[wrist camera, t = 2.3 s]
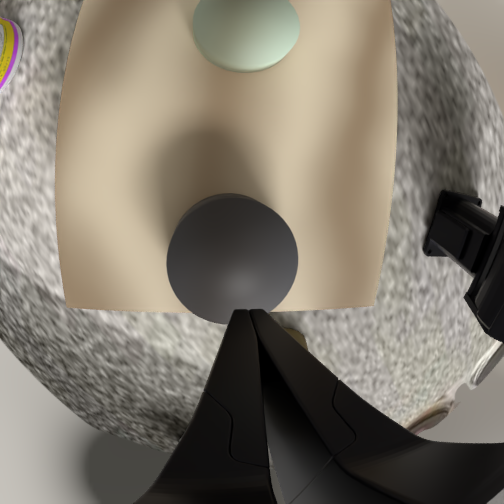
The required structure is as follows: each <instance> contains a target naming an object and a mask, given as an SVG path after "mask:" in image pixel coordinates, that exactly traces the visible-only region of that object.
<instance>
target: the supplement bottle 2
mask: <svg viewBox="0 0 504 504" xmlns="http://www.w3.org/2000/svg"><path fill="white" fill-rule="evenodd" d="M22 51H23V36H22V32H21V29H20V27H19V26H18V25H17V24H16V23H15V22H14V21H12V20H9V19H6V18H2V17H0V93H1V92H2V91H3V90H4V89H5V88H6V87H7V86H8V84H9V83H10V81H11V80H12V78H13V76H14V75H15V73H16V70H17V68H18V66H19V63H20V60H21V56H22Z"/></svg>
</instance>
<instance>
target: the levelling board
mask: <svg viewBox="0 0 504 504" xmlns="http://www.w3.org/2000/svg"><path fill="white" fill-rule="evenodd" d="M396 141H397V64H396V48H395V35H394V25H393V16H392V8H391V1H390V0H83V3H82V6H81V10H80V13H79V16H78V20H77V23H76V27H75V30H74V34H73V38H72V42H71V46H70V50H69V55H68V60H67V65H66V70H65V75H64V81H63V87H62V93H61V101H60V108H59V117H58V128H57V140H56V159H55V207H56V227H57V240H58V251H59V260H60V268H61V275H62V282H63V289H64V295H65V300H66V306H67V308H80V309H96V310H114V311H136V312H172V313H193V314H195V315H197V316H198V317H200V318H202V319H205V320H207V321H210V322H214V323H219V324H229V321H230V318H231V315H232V313H233V311H234V310H235V309H247V310H248V311H249V310H250V309H263V310H265V311H266V312H267V313H269V312H282V311H305V310H324V309H340V308H354V307H367V306H374V302H375V297H376V293H377V288H378V283H379V278H380V273H381V268H382V263H383V257H384V251H385V245H386V239H387V232H388V226H389V218H390V211H391V202H392V193H393V183H394V172H395V159H396Z"/></svg>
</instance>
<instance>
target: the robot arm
mask: <svg viewBox="0 0 504 504" xmlns="http://www.w3.org/2000/svg"><path fill="white" fill-rule="evenodd" d="M445 195H446V196H445ZM481 204H482V200H481V199H480V198H478V197H475V196H471V195H467V194H463V193H459V192H455V191H450V190H446V189H444V190H442V192H441V194H440V198H439V201H438V205H437V209H436V212H435V216H434V219H433V222H432V226H431V229H430V232H429V235H428V238H427V242H426V245H425V248H424V251H423V252H424V254H425V255H426V256H441V257H449V258H451V259H452V260H453V261H454V262H456V263H457V264H458V265H459V266H460V267H461V268H463V269H464V270H465V271H466V272H467V273H468V274H470V275H471V276H472V277H473V278H474V279H473V281H472V283H471V285H470V288H469V290H468V292H466V294H465V296H464V299H465V301H466V302H467V304H468V306H469V307H470V309H471V310H472V312H473V314H474V315H475V317H476V318H477V320H478V322H479V323H480V325H481V327H482V328H483V330H484V332H485V333H486V334H488V335H489V336H490V337H493V338H494V339H496V340H498V341H500V342H503V343H504V206H502V205H501V207H500V210H499V211H500V213H499V216H498V217H496V216H494V215H493V214H491V213H489V212H488V211H486V210H484V209H482V208H481ZM267 443H268V445H267ZM268 446H269V450H270V453H271V457H272V460H273V464H274V467H275V471H276V474H277V477H278V481H279V483H280V487H281V491H282V494H283V497H284V501H285V504H504V443H450V442H437V441H430V440H427V439H424V438H421V437H419V436H417V435H415V434H413V433H412V432H410V431H408V430H407V429H405V428H404V427H402V426H401V425H399V424H398V423H396V422H395V421H393V420H392V419H390V418H389V417H387V416H386V415H384V414H383V413H381V412H380V411H379V410H377V409H376V408H374V407H373V406H372V405H370V404H369V403H368V402H366V401H365V400H363V399H362V398H361V397H360V396H359V395H357V394H356V393H355V392H354V391H352V390H351V389H350V388H349V387H348V386H347V385H346V384H344V383H343V382H342V381H341V380H338V377H336V376H335V375H334V374H333V373H332V372H331V371H330V370H329V369H327V368H326V367H325V366H324V365H323V364H322V363H321V362H320V361H319V360H318V359H316V358H315V357H314V356H313V355H312V354H311V353H310V352H309V351H308V350H307V349H305V348H304V347H303V346H302V345H301V344H300V343H299V342H298V341H297V340H296V339H295V338H294V337H292V336H291V335H290V334H289V333H288V332H287V331H286V330H285V329H284V328H283V327H282V326H281V325H280V324H279V323H277V322H276V321H275V320H274V319H273V318H272V317H271V316H270V315H269V314H268V313H267V312H266V311H265V310H263V309H250V310H249V311H248V310H247V309H235V310H234V311H233V313H232V315H231V318H230V321H229V324H228V326H227V329H226V332H225V334H224V337H223V340H222V342H221V345H220V348H219V350H218V353H217V356H216V358H215V361H214V364H213V366H212V369H211V372H210V374H209V377H208V380H207V382H206V385H205V388H204V392H203V393H202V395H201V398H200V400H199V403H198V405H197V408H196V410H195V412H194V415H193V417H192V419H191V421H190V423H189V425H188V427H187V429H186V431H185V432H184V434H183V436H182V438H181V439H180V441H179V443H178V444H177V446H176V448H175V450H174V451H173V453H172V455H171V456H170V458H169V460H168V461H167V463H166V465H165V466H164V468H163V469H162V471H161V473H160V474H159V476H158V477H157V479H156V480H155V481H154V483H153V484H152V485H151V486H150V488H149V489H148V490H147V491H146V492H145V493H144V494H143V495H142V496H141V497H140V498H139V499H137V500H136V501H135V502H134V503H133V504H277V501H276V498H275V495H274V492H273V488H272V483H271V476H270V469H269V467H270V466H269V455H268Z"/></svg>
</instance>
